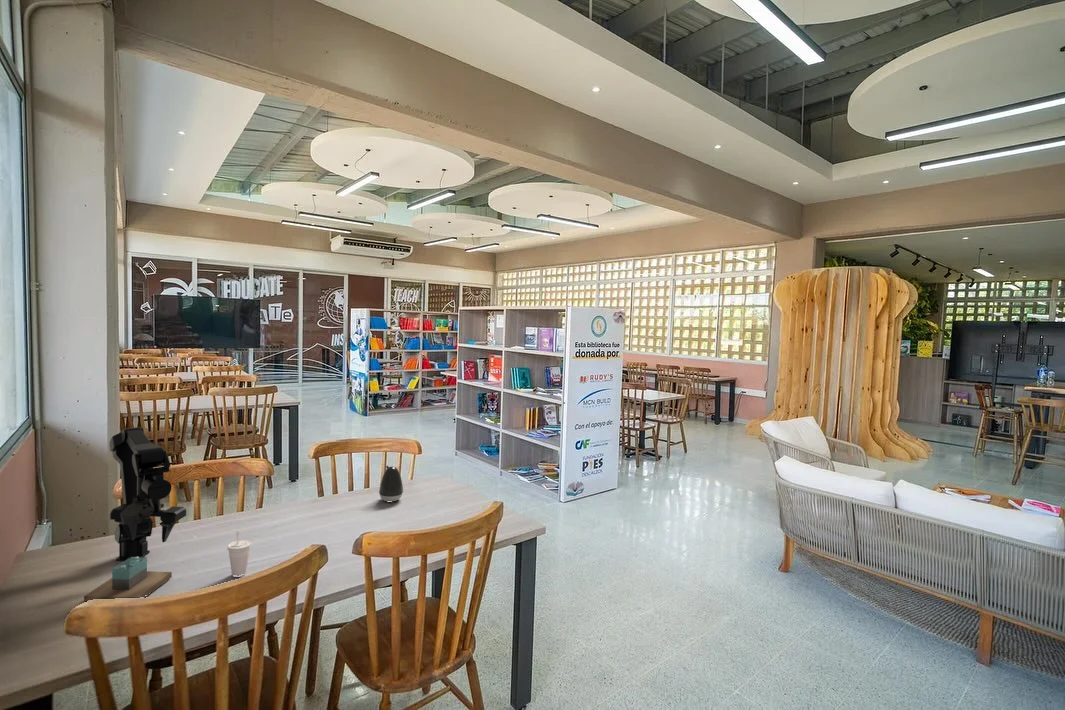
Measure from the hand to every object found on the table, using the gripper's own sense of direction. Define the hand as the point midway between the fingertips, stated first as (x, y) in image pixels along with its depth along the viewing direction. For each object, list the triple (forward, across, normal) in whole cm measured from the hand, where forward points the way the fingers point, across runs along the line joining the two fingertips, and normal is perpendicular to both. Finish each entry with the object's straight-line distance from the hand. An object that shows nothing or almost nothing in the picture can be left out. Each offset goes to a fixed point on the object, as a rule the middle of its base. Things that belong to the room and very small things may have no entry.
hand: (148, 540), depth 153 cm
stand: (+10, +1, -8) cm, 14 cm away
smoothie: (+10, +26, +2) cm, 28 cm away
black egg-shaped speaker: (+11, +55, +71) cm, 90 cm away
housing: (+8, +1, -8) cm, 12 cm away
